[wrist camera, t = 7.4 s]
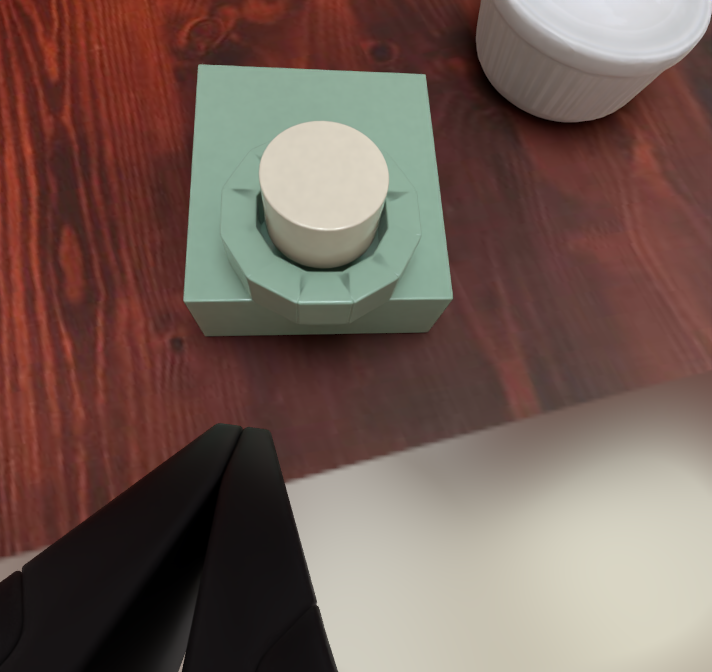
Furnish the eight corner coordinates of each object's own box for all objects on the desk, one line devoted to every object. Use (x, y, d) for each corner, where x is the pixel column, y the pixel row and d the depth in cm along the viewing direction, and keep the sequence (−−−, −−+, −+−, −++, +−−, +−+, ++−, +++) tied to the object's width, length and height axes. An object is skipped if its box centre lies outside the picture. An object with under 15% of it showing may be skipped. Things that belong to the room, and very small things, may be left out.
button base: (430, 352, 22) (474, 302, 16) (203, 357, 21) (165, 305, 15) (408, 135, 26) (437, 33, 20) (214, 130, 25) (186, 20, 19)
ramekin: (462, -22, 30) (494, -126, 25) (635, 11, 31) (700, -84, 26) (452, 122, 26) (487, 35, 21) (650, 156, 27) (728, 79, 22)
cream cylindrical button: (381, 269, 17) (394, 231, 14) (264, 269, 16) (257, 230, 14) (374, 171, 18) (384, 121, 16) (265, 169, 18) (259, 117, 15)
